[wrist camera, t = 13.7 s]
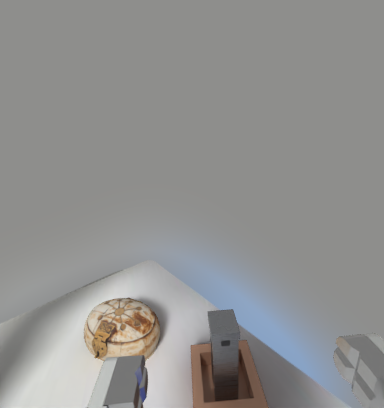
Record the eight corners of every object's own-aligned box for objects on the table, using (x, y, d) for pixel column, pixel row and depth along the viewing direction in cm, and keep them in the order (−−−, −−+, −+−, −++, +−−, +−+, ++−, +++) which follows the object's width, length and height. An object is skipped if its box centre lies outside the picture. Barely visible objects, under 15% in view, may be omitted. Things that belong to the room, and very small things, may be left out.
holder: (195, 437, 28) (193, 418, 26) (192, 361, 37) (190, 345, 36) (268, 429, 28) (269, 410, 27) (246, 356, 37) (246, 340, 36)
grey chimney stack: (214, 402, 30) (211, 334, 27) (211, 374, 34) (207, 311, 30) (239, 400, 30) (239, 332, 27) (233, 372, 34) (233, 309, 30)
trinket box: (95, 321, 48) (88, 293, 45) (160, 309, 50) (156, 281, 48) (74, 385, 35) (63, 351, 33) (162, 364, 37) (157, 331, 35)
